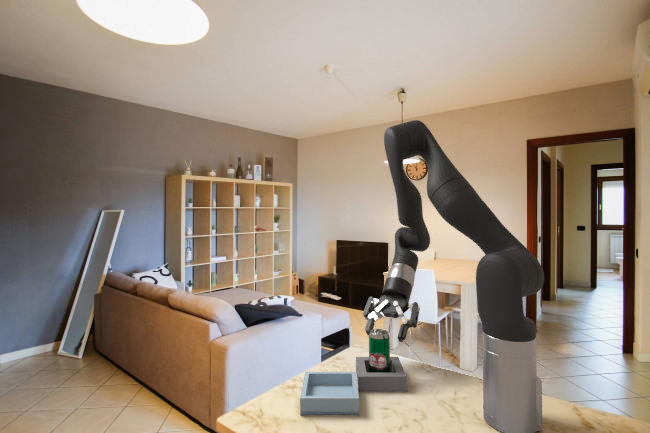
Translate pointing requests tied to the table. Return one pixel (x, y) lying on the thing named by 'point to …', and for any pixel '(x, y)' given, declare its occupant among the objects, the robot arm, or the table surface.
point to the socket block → (381, 377)
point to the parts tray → (329, 394)
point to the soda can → (379, 351)
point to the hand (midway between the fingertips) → (383, 337)
